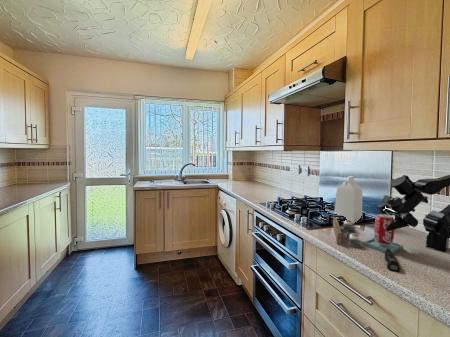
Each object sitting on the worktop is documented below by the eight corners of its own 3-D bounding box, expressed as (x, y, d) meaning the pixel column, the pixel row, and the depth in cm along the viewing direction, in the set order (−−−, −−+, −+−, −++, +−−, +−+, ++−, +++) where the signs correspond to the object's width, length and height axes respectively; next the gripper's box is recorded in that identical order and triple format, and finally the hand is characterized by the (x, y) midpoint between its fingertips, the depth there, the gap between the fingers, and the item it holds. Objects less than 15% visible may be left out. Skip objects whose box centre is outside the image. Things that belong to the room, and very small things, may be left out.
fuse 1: (352, 228, 130) (353, 220, 130) (349, 230, 128) (349, 221, 128) (345, 227, 133) (346, 218, 133) (342, 228, 131) (342, 219, 131)
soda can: (396, 243, 105) (398, 216, 104) (387, 247, 101) (389, 218, 100) (379, 238, 111) (381, 212, 110) (370, 241, 108) (372, 214, 107)
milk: (353, 223, 140) (356, 178, 138) (333, 218, 149) (336, 176, 147) (362, 220, 148) (365, 177, 146) (342, 215, 157) (345, 175, 154)
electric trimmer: (393, 256, 98) (394, 249, 98) (400, 273, 84) (401, 264, 84) (382, 254, 100) (383, 247, 100) (387, 270, 86) (387, 261, 86)
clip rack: (352, 227, 133) (352, 218, 132) (361, 247, 105) (362, 236, 105) (332, 225, 136) (333, 216, 136) (337, 244, 109) (337, 233, 108)
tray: (402, 249, 105) (403, 245, 105) (390, 254, 99) (390, 250, 99) (375, 240, 114) (375, 237, 114) (362, 245, 108) (363, 241, 108)
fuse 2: (359, 244, 109) (360, 234, 108) (355, 246, 107) (356, 236, 106) (351, 242, 112) (352, 232, 111) (347, 243, 110) (348, 233, 109)
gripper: (382, 185, 114) (356, 209, 114) (413, 193, 95) (382, 221, 96) (397, 202, 114) (372, 225, 115) (431, 213, 96) (401, 240, 97)
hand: (381, 227), depth 106 cm, fingers closed on soda can, 7 cm apart
